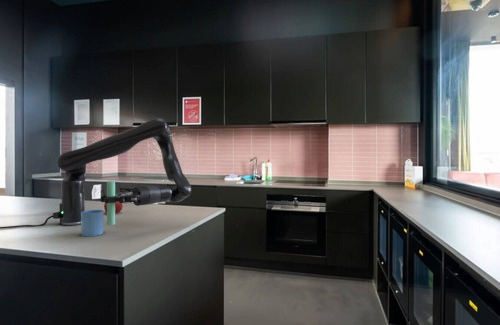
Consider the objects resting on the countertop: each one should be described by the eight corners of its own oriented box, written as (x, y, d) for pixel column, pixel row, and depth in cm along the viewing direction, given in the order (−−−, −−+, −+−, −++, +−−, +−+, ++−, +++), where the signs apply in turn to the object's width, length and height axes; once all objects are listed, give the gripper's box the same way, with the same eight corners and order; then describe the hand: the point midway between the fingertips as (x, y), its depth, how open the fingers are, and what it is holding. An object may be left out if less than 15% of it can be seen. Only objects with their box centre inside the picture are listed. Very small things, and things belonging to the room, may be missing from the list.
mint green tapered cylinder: (105, 225, 114) (105, 181, 114) (109, 223, 117) (109, 181, 117) (112, 225, 114) (112, 181, 113) (116, 223, 117) (116, 181, 116)
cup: (76, 236, 122) (76, 213, 121) (89, 231, 130) (89, 209, 129) (95, 236, 121) (95, 213, 120) (107, 231, 129) (107, 210, 128)
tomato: (102, 213, 168) (102, 198, 168) (120, 211, 174) (119, 196, 174) (106, 215, 161) (106, 200, 161) (124, 213, 167) (124, 198, 166)
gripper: (138, 184, 130) (95, 187, 118) (155, 187, 121) (111, 191, 108) (138, 202, 131) (95, 207, 118) (155, 206, 121) (111, 212, 108)
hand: (103, 199), depth 113 cm, fingers closed on mint green tapered cylinder, 2 cm apart
